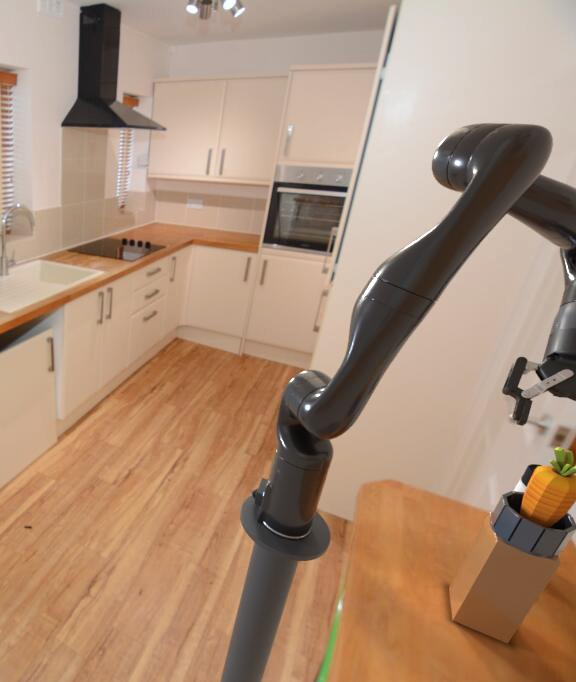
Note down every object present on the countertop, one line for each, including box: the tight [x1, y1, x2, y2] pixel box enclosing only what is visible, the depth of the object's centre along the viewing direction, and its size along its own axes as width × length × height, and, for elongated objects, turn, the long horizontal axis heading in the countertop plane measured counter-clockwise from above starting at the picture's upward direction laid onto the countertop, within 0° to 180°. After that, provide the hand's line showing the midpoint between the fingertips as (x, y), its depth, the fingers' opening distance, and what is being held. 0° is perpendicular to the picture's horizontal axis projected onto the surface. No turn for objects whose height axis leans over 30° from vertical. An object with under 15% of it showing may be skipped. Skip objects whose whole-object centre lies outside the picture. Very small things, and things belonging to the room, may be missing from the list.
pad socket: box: [448, 490, 576, 644], centre depth 70 cm, size 8×8×23 cm
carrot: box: [520, 446, 576, 528], centre depth 64 cm, size 5×5×15 cm
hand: (560, 434), depth 67 cm, fingers open, 8 cm apart
